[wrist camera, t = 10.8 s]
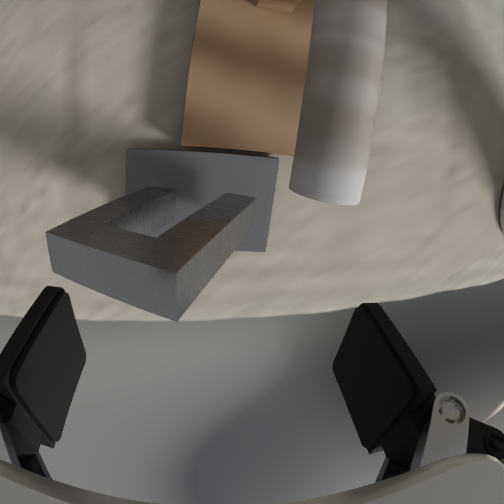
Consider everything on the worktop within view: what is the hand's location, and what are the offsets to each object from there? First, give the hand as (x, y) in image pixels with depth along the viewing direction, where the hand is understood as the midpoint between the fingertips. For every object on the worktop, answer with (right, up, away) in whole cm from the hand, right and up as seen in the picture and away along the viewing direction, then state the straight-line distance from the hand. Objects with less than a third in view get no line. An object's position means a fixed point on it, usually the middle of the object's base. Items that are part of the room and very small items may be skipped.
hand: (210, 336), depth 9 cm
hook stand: (+2, +16, +8) cm, 19 cm away
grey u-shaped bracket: (-2, +6, +12) cm, 14 cm away
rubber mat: (-3, +7, +13) cm, 15 cm away
